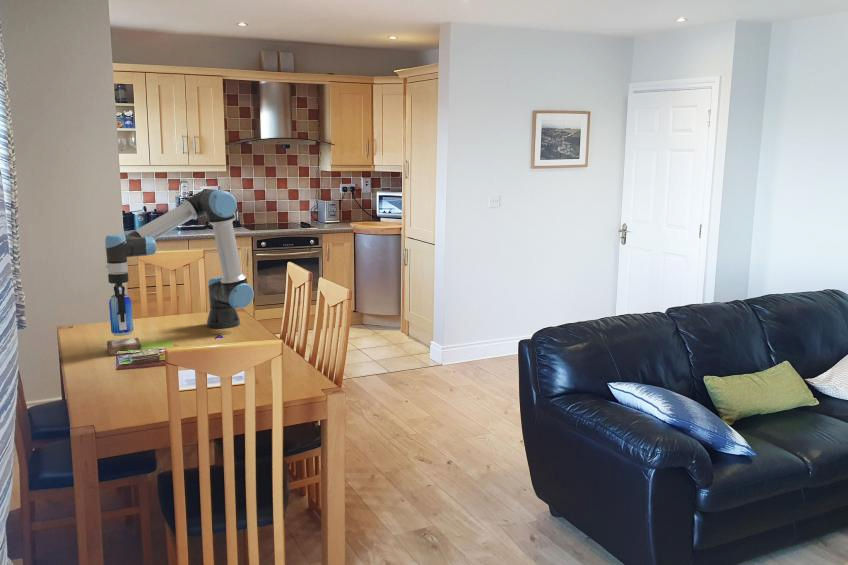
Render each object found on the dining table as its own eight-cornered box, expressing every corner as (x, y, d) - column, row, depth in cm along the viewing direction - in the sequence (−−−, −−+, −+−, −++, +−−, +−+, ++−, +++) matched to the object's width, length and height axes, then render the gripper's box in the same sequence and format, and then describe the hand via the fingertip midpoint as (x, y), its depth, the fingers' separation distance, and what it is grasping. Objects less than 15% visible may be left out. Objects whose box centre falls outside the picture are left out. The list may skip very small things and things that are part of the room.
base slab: (138, 345, 306) (137, 336, 305) (141, 352, 295) (140, 342, 295) (107, 349, 301) (106, 339, 300) (109, 356, 290) (108, 346, 289)
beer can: (125, 336, 292) (122, 298, 289) (107, 336, 294) (104, 297, 291) (137, 332, 300) (135, 294, 297) (119, 331, 302) (116, 293, 299)
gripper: (106, 270, 300) (110, 323, 304) (109, 277, 281) (114, 333, 285) (125, 268, 303) (129, 321, 307) (130, 275, 285) (134, 331, 289)
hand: (122, 327), depth 296 cm, fingers closed on beer can, 8 cm apart
